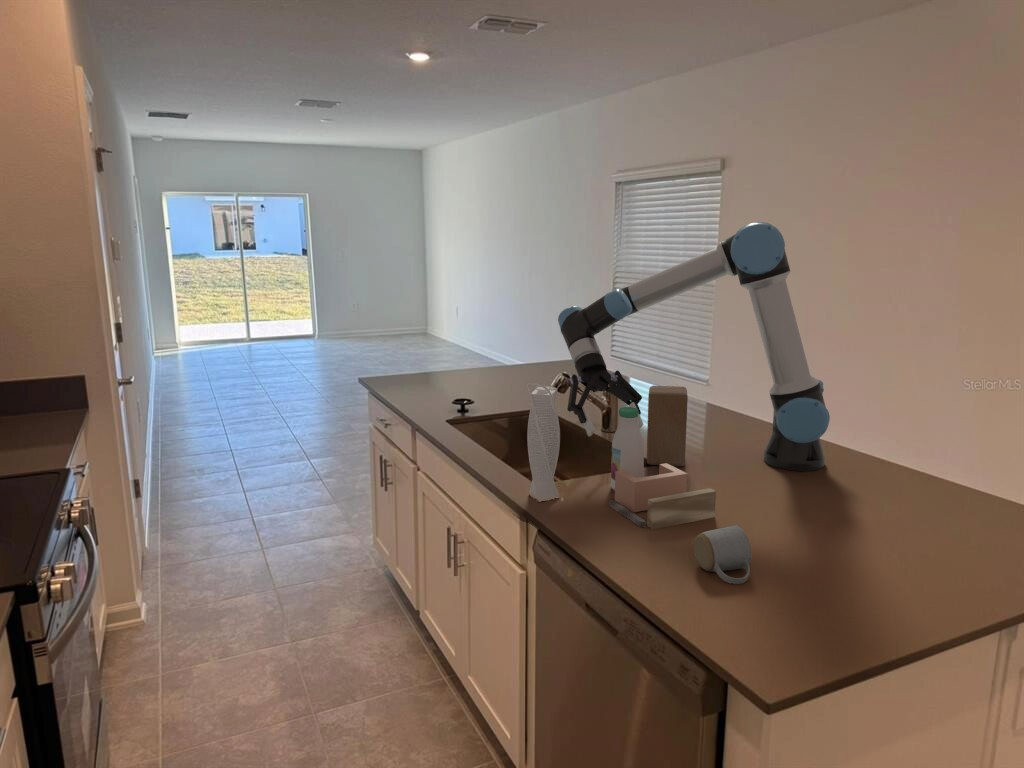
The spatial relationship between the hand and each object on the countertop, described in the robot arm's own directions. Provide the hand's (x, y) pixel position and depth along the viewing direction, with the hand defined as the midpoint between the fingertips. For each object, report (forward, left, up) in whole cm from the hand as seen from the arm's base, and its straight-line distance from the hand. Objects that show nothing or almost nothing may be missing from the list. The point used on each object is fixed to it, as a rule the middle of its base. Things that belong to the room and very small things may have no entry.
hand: (616, 430), depth 169 cm
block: (-6, -23, -14) cm, 28 cm away
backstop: (-15, +12, -14) cm, 24 cm away
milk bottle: (-4, +2, -14) cm, 15 cm away
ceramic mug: (-33, +35, -14) cm, 50 cm away
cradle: (-11, +8, -13) cm, 20 cm away
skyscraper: (+12, +16, -14) cm, 25 cm away
